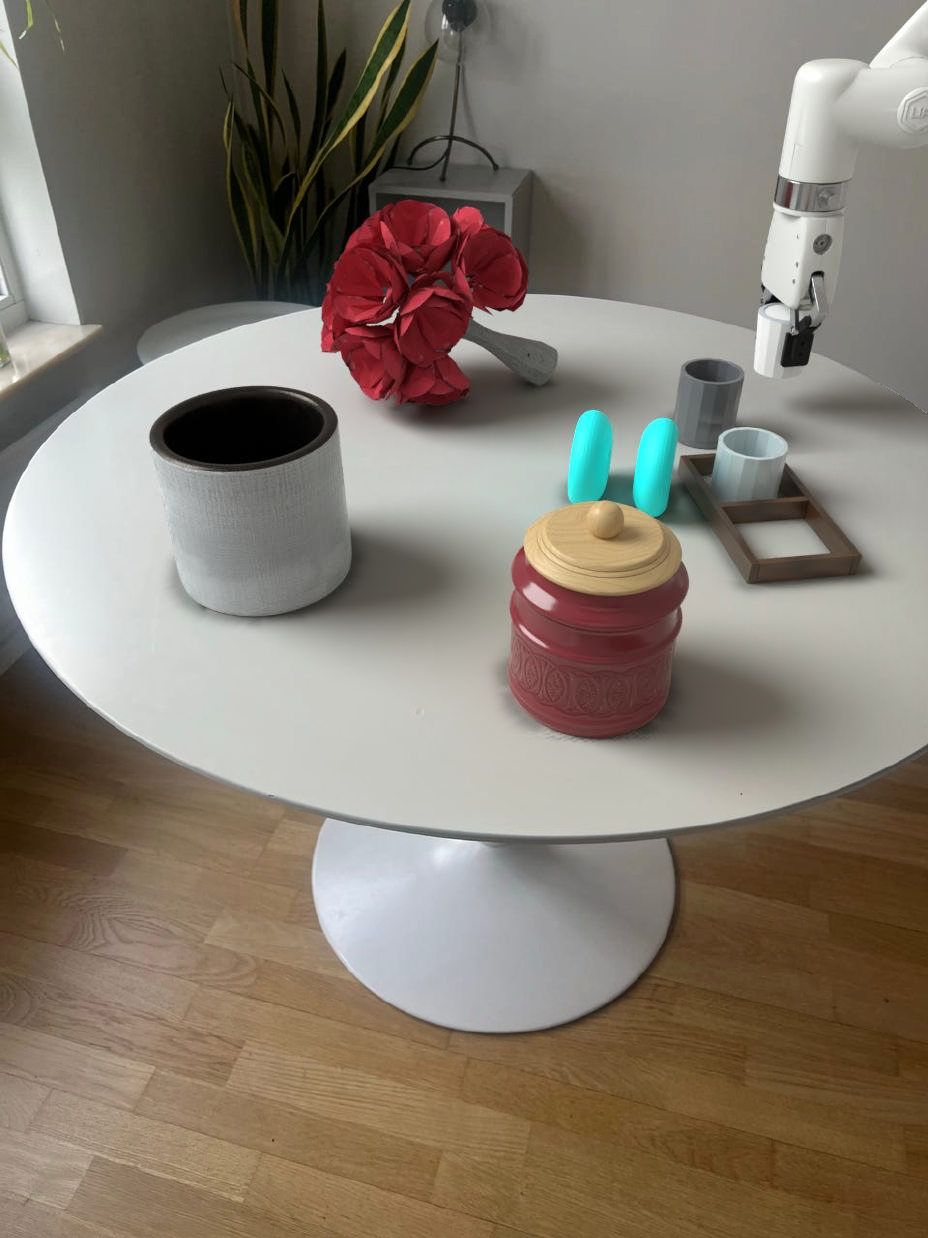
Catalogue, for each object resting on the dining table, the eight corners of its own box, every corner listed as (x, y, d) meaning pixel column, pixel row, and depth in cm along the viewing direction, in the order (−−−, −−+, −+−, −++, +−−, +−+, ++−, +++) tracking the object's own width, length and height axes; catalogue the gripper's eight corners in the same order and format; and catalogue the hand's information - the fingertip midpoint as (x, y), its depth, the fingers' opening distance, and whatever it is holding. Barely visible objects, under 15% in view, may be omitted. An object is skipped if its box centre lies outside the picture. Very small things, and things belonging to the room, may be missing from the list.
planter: (149, 609, 84) (107, 455, 74) (229, 516, 96) (203, 374, 86) (314, 639, 81) (293, 483, 71) (376, 539, 93) (366, 394, 83)
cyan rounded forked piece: (661, 538, 93) (676, 448, 87) (562, 524, 95) (569, 436, 89) (669, 487, 101) (683, 402, 94) (577, 476, 102) (584, 391, 96)
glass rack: (768, 473, 103) (774, 448, 101) (853, 582, 87) (862, 555, 85) (676, 480, 102) (680, 455, 100) (745, 592, 86) (751, 564, 84)
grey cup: (719, 419, 113) (731, 356, 108) (740, 446, 108) (754, 381, 103) (663, 422, 112) (673, 359, 107) (682, 450, 107) (693, 385, 102)
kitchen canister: (667, 647, 80) (699, 465, 69) (667, 757, 70) (705, 566, 59) (516, 631, 82) (524, 451, 71) (496, 737, 72) (501, 547, 61)
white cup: (786, 353, 116) (797, 297, 111) (819, 375, 111) (831, 317, 106) (737, 362, 114) (746, 305, 110) (768, 384, 109) (779, 326, 105)
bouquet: (483, 394, 134) (288, 307, 120) (576, 246, 121) (370, 129, 107) (518, 479, 118) (298, 390, 104) (628, 319, 106) (396, 194, 92)
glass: (758, 483, 101) (772, 425, 97) (784, 517, 96) (799, 456, 92) (698, 488, 100) (709, 429, 96) (720, 522, 95) (733, 461, 91)
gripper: (883, 213, 94) (843, 380, 105) (810, 171, 107) (781, 323, 118) (812, 218, 93) (779, 386, 104) (747, 175, 106) (724, 328, 118)
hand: (780, 351), depth 111 cm, fingers closed on white cup, 6 cm apart
